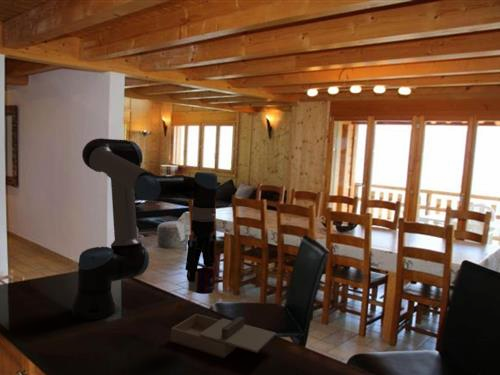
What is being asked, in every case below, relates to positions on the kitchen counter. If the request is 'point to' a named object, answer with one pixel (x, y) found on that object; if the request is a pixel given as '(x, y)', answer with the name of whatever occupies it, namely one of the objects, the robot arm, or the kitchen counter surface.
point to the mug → (204, 280)
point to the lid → (238, 334)
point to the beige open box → (189, 336)
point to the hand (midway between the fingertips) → (198, 287)
